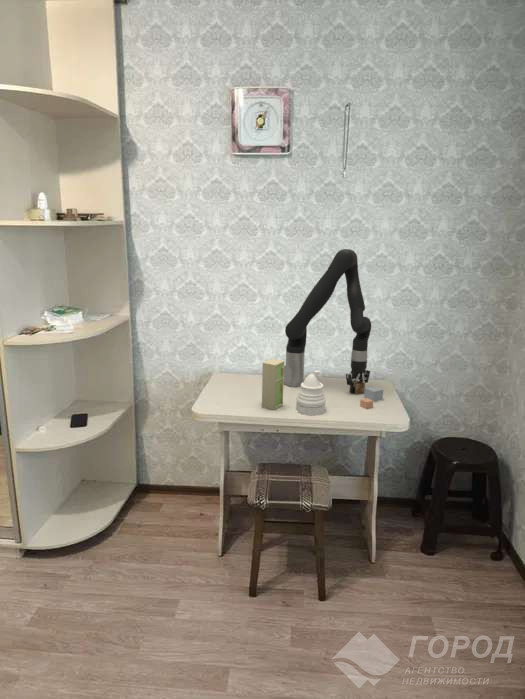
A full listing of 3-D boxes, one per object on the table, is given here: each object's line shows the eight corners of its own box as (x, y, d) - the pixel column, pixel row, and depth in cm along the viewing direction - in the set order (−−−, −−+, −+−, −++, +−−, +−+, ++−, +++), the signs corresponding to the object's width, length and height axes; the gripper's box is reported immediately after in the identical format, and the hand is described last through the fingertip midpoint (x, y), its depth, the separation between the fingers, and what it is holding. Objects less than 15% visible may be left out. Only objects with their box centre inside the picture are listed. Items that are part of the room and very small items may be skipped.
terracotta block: (366, 410, 235) (366, 402, 234) (359, 408, 238) (360, 399, 237) (372, 409, 237) (373, 400, 236) (366, 406, 241) (367, 398, 240)
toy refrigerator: (275, 410, 233) (276, 365, 228) (261, 407, 237) (262, 362, 231) (284, 405, 240) (285, 360, 234) (270, 402, 243) (271, 358, 238)
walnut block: (356, 394, 253) (357, 384, 252) (349, 391, 257) (350, 382, 256) (364, 393, 256) (364, 383, 255) (357, 390, 260) (357, 380, 259)
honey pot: (323, 405, 241) (325, 367, 236) (326, 415, 229) (328, 376, 224) (295, 404, 241) (296, 366, 236) (297, 415, 228) (298, 375, 224)
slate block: (373, 402, 244) (373, 391, 243) (363, 398, 249) (364, 388, 247) (382, 399, 247) (383, 389, 246) (373, 396, 252) (374, 386, 251)
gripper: (364, 355, 259) (362, 387, 263) (342, 358, 252) (340, 392, 256) (375, 358, 253) (373, 392, 257) (353, 362, 246) (350, 397, 250)
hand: (356, 392), depth 257 cm, fingers closed on walnut block, 5 cm apart
